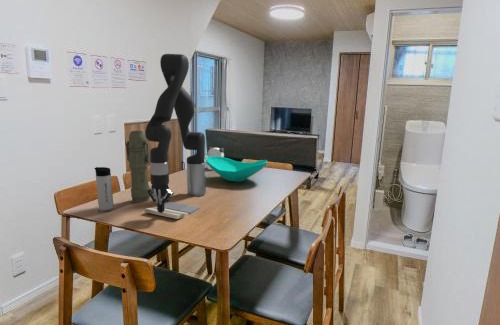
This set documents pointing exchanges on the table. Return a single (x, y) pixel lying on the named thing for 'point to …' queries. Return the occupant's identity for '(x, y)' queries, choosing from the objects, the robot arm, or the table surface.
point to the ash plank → (167, 213)
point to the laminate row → (180, 207)
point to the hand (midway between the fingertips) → (160, 211)
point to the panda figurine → (215, 153)
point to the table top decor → (234, 168)
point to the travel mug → (104, 189)
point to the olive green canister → (138, 165)
